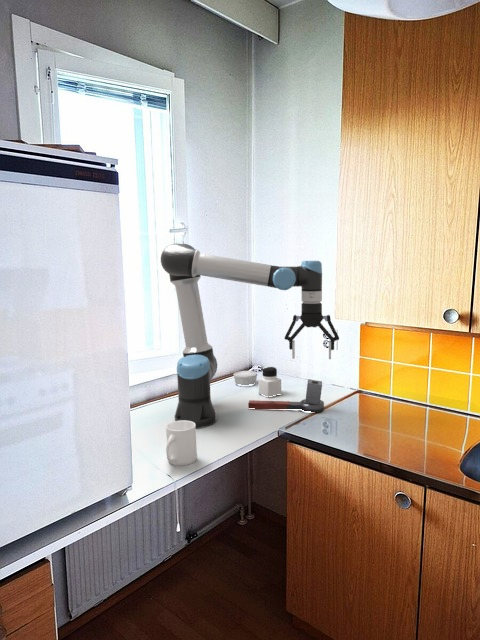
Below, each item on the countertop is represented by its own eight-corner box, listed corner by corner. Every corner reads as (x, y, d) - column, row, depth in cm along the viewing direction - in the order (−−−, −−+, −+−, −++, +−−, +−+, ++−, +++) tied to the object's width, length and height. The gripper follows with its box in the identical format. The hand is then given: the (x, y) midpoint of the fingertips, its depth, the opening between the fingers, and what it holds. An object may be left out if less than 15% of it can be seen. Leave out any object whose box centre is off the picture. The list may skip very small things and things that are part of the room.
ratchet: (247, 411, 178) (247, 396, 178) (250, 404, 187) (250, 390, 186) (324, 414, 174) (324, 398, 173) (323, 406, 182) (323, 391, 182)
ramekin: (239, 380, 224) (239, 369, 224) (261, 382, 220) (260, 371, 219) (229, 386, 214) (229, 375, 213) (252, 388, 210) (252, 377, 209)
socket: (305, 403, 176) (307, 382, 174) (305, 398, 181) (307, 378, 180) (319, 405, 175) (322, 384, 174) (319, 400, 180) (322, 380, 179)
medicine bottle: (281, 395, 198) (281, 367, 197) (268, 398, 194) (268, 370, 193) (271, 391, 204) (271, 364, 203) (258, 394, 200) (257, 367, 199)
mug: (154, 468, 133) (152, 432, 131) (178, 452, 143) (176, 418, 142) (180, 473, 129) (178, 436, 127) (202, 456, 140) (201, 422, 138)
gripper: (277, 303, 171) (277, 359, 174) (346, 303, 167) (345, 360, 170) (278, 301, 179) (279, 355, 182) (345, 301, 175) (344, 356, 178)
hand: (311, 358), depth 176 cm, fingers open, 13 cm apart
